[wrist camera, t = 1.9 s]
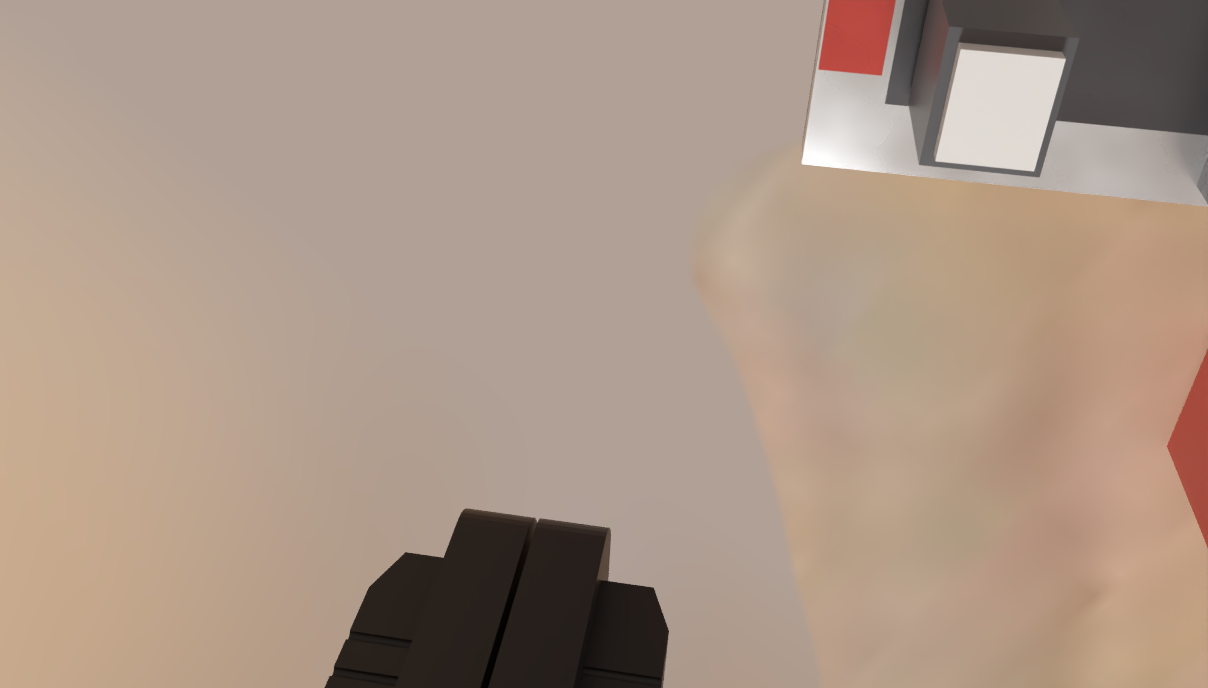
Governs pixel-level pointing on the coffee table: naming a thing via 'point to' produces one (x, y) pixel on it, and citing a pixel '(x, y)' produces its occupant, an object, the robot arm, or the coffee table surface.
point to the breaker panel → (1087, 112)
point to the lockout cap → (1194, 447)
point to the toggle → (990, 83)
